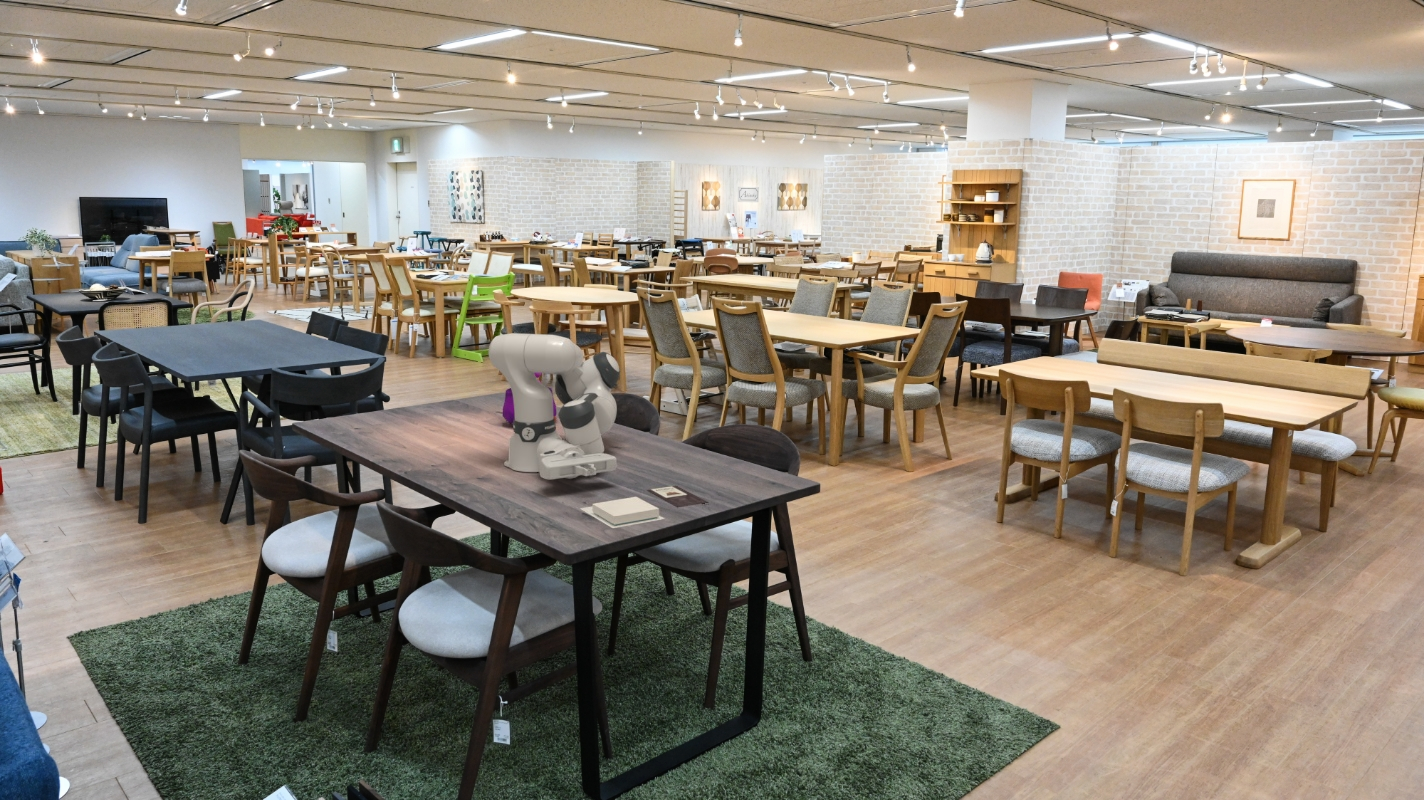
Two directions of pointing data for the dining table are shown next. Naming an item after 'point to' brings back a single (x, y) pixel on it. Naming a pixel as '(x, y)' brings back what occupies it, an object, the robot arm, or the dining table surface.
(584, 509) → the mat
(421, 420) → the dining table surface
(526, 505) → the dining table surface
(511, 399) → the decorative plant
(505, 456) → the dining table surface
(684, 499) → the chocolate bar
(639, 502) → the tile
